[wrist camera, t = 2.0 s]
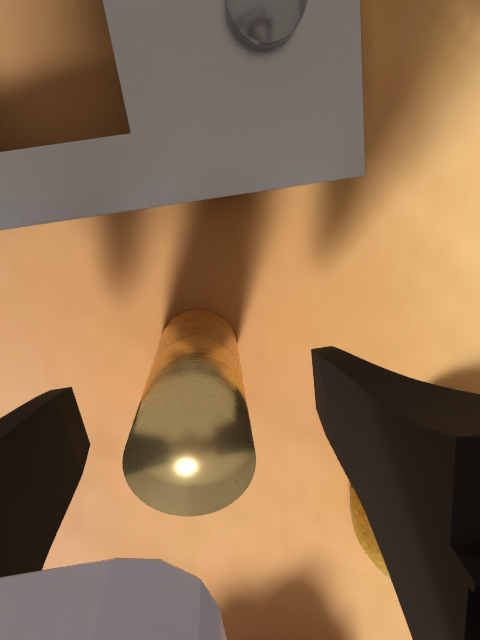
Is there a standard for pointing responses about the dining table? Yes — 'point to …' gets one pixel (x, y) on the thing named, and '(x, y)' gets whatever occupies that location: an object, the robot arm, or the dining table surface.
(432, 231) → the dining table surface
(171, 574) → the robot arm
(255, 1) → the grey plate with knobs
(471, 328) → the dining table surface
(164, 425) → the brass pin
